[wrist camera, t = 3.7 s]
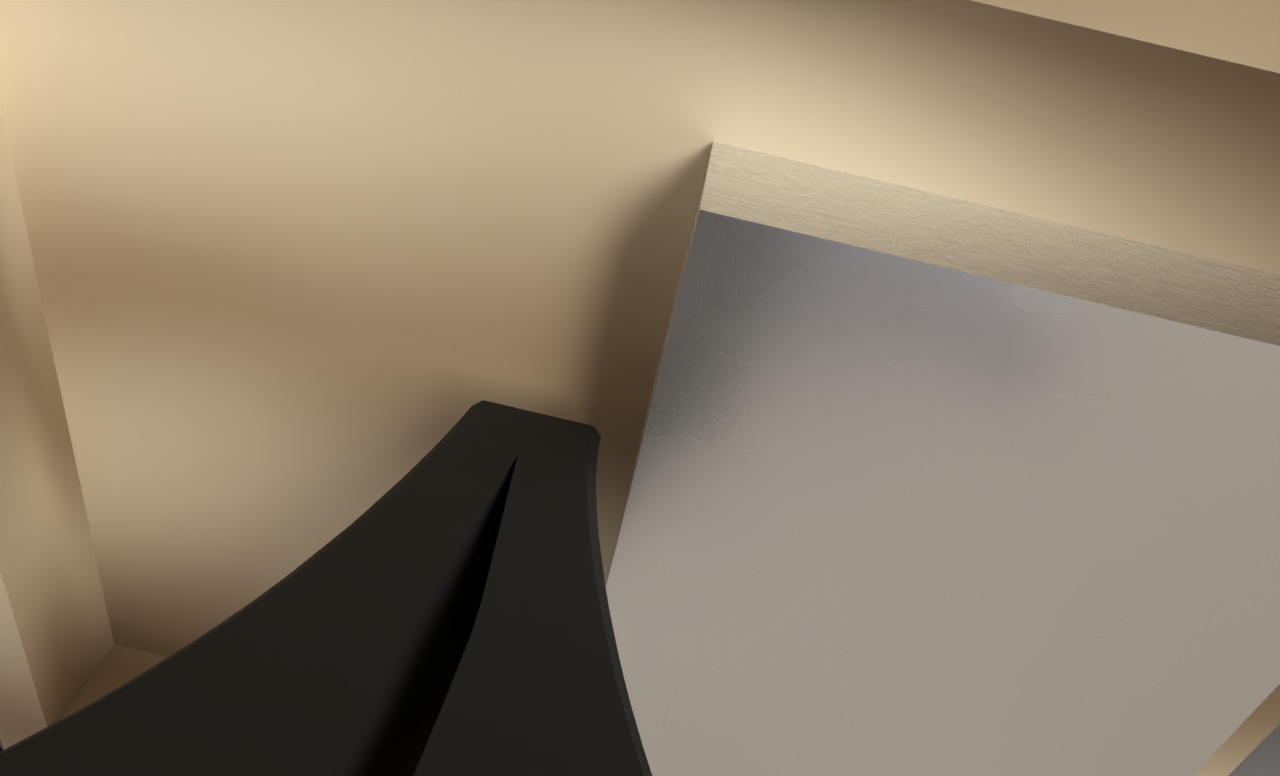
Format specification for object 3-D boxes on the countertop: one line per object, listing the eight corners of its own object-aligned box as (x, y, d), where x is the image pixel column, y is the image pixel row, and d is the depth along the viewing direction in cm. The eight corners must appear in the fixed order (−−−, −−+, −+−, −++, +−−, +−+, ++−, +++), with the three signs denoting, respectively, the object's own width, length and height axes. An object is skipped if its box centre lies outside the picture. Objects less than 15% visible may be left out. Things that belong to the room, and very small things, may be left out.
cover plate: (1062, 781, 14) (1088, 886, 13) (582, 669, 14) (561, 762, 13) (1441, 313, 9) (1541, 409, 8) (712, 141, 9) (699, 209, 8)
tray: (1091, 868, 16) (1128, 1015, 14) (94, 634, 16) (5, 753, 14) (1859, 43, 8) (2169, 141, 6) (-151, -433, 8) (-430, -474, 6)
